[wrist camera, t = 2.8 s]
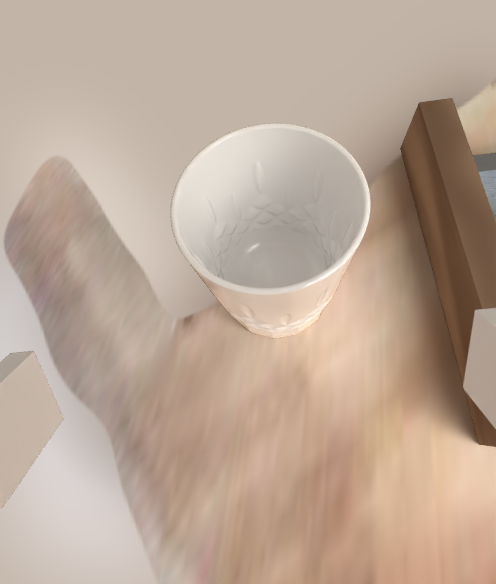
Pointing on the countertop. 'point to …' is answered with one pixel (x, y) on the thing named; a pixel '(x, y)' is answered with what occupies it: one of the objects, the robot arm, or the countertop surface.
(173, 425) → the countertop surface
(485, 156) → the gray square tray
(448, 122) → the brown drawer face panel
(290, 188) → the white cup
